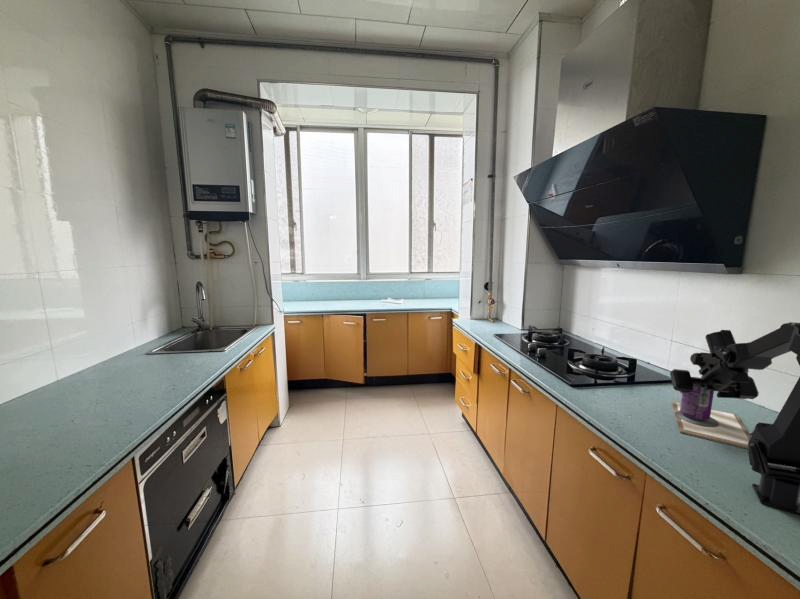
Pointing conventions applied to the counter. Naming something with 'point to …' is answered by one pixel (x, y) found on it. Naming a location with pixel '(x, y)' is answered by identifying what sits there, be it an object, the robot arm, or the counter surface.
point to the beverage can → (697, 403)
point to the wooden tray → (714, 427)
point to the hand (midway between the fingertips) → (698, 393)
